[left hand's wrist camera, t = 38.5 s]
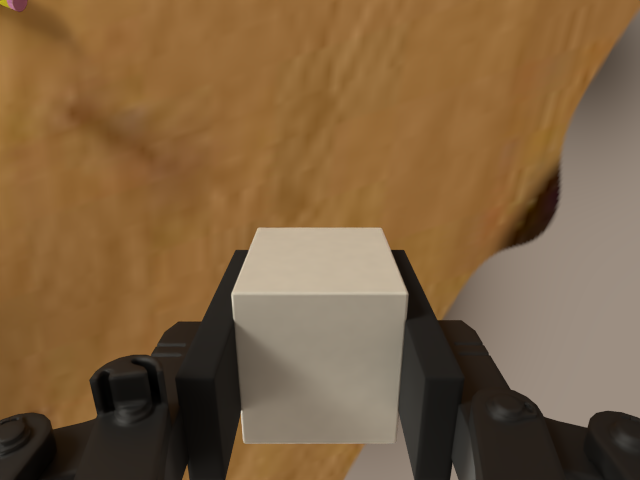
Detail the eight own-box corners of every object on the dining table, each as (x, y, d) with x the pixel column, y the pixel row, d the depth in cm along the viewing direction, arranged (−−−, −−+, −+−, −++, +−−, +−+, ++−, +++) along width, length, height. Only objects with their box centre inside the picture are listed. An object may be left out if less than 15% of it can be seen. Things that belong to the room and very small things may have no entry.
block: (382, 227, 14) (409, 292, 10) (376, 344, 16) (397, 444, 12) (257, 226, 14) (230, 292, 10) (263, 344, 16) (242, 444, 12)
